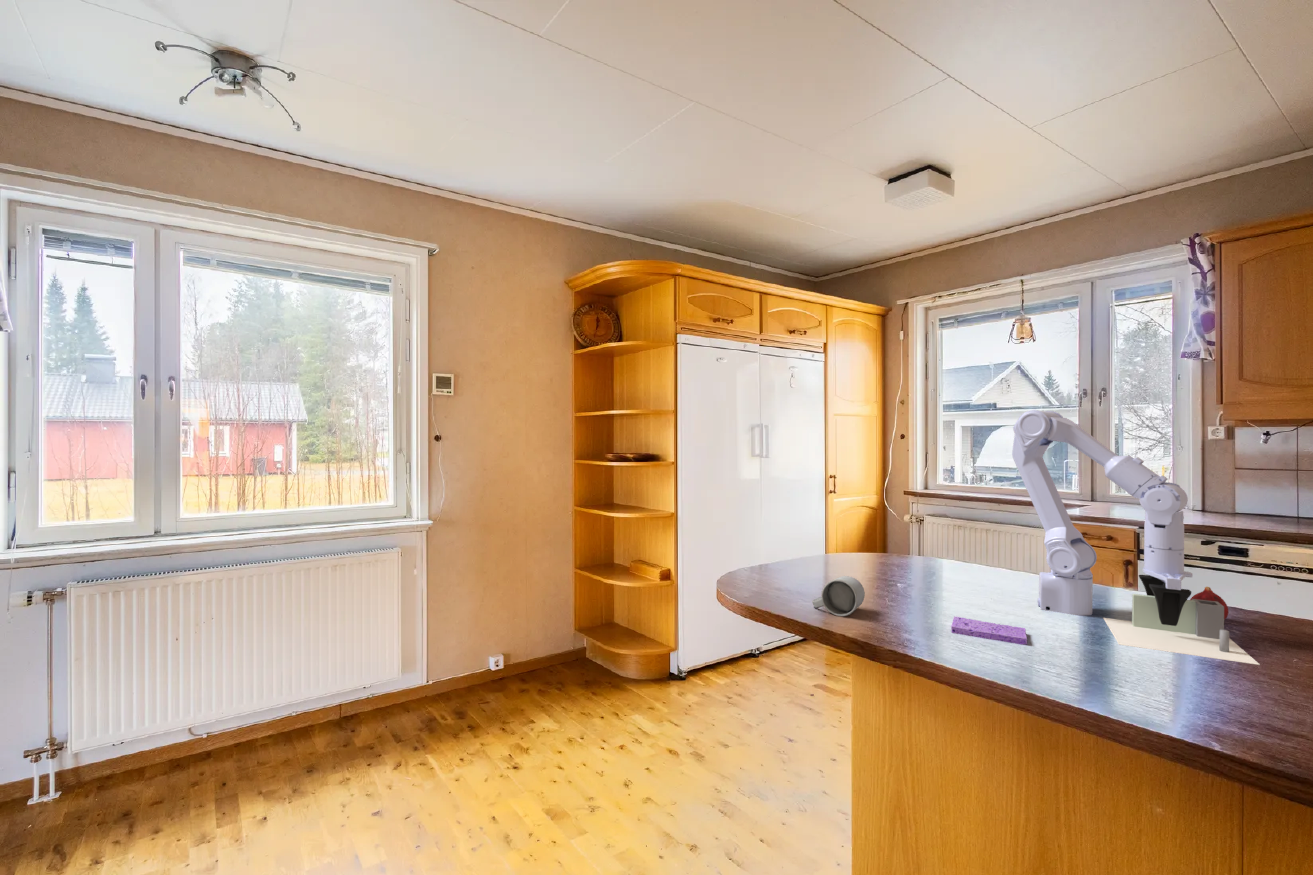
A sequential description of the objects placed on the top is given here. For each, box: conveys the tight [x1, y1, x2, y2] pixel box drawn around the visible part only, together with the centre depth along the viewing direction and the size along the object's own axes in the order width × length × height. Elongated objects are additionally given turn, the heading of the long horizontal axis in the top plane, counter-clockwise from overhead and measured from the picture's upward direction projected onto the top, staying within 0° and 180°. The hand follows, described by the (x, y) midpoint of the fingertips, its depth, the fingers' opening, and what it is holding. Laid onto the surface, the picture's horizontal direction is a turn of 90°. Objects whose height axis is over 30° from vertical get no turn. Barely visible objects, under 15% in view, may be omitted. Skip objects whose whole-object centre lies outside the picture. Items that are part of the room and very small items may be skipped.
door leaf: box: [1131, 593, 1225, 639], centre depth 110 cm, size 13×4×6 cm, turn 60°
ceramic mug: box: [811, 575, 866, 617], centre depth 128 cm, size 11×8×8 cm
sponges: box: [950, 615, 1028, 645], centre depth 113 cm, size 7×13×2 cm, turn 58°
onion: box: [1189, 586, 1229, 621], centre depth 117 cm, size 6×6×8 cm
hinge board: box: [1102, 617, 1261, 666], centre depth 106 cm, size 18×17×5 cm
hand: (1163, 618), depth 111 cm, fingers open, 7 cm apart
